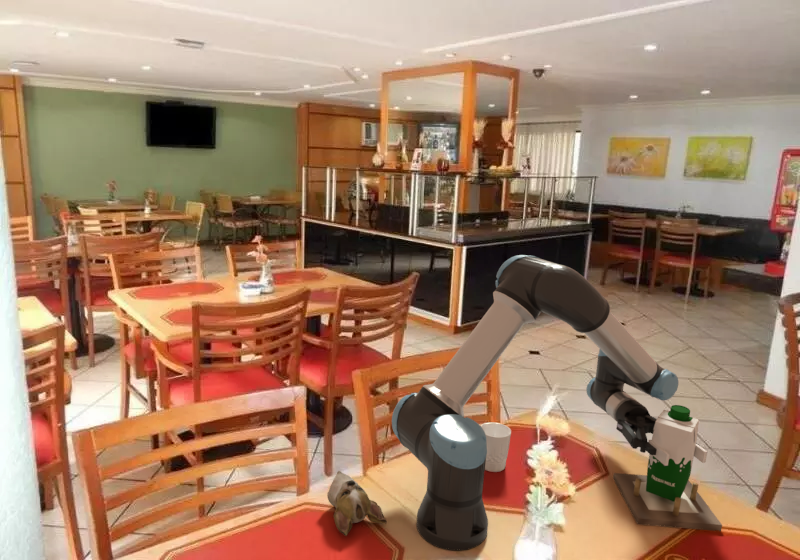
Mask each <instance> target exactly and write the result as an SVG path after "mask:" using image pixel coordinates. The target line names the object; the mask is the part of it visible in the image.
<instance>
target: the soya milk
mask: <svg viewBox="0 0 800 560" xmlns="http://www.w3.org/2000/svg"><path fill="white" fill-rule="evenodd" d="M690 415H691V410H690V408H689V407H687V406H684V405H680V404H673V405H671V407H670V410H667V409H663V410H662V412H661V413H660V414H659V415H658V416H657V418H656V419H657V420H656V421H655V425H654V428H653V430H654V432H653V434H652V437H651V440H653V441H654V442H655V443H656V444H657V445H658V446H659V447H661V448H662V449H664V450H665V451H666V452H667V453H669V454H670V456H669V462H668V466H665V465H663V464H662V463H661V462H660V461H659V460H658V459H656V458H655V457H654V456H653V455H651V454H649V453H648V455H649V457H648V463H647V469H646V470H647V472H646V475H647V483H646V491H647V492H649V493H652V494H655V495H657V496H660V497H663V498H665V499H668V500H671V501H673V502H675V498H676V497H679V498H681V496H682V494H683V492H684V490H685V487H686V485H687V482H688V480H689V481H690V478H691V477H690V476H691V474H692V473H691V472H692V468H693V461H694V458H695V457H694V452H695V446H696V443H697V438H698V431H699V421H700V420H699V419H698V418H695V417H692V416H690Z"/></svg>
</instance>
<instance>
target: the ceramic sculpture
mask: <svg viewBox="0 0 800 560" xmlns="http://www.w3.org/2000/svg"><path fill="white" fill-rule="evenodd" d="M327 500H328V503H330V504H331V506H333V507H334V508H335V511H334V513H333V521H334V523H335V526H336V529H337V531H338V532H339V533H341V534H342V535H343V536H345V537H347V536H348V534H349V533H350V532H351V530H352V528H353V524H355V523H360V522H362V521H364V520H365V518H366V516H367V517H368V520H369V521H370V522H372V523H375V524H376V523H377V524H387V520H386V518H385V515H384V513H383V510H382V508H381V507H380V505H378V503H377V502H376V501H375V500H371V499H370V498H369V496H368V494H367V493H366V491H365V489H364V488H363V487H361V485H360V484H359V483H358V482H357V481H355V479H353V478H352V477H351V476H350V475H349V474H345V473H344V472H342V471H341V470H338V471H337V472H336V474H335V476H334V478H333V480H332V481H331V484H330V486H329V490H328V492H327Z"/></svg>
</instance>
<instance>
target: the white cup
mask: <svg viewBox="0 0 800 560" xmlns="http://www.w3.org/2000/svg"><path fill="white" fill-rule="evenodd" d="M480 426H481V427H482V428H483V430H484V432H485V434H486V441H487V455H486V462H485V471H488V472H493V473H497V472H501V471H503V470H505V468H506V465H507V458H508V455H509V450H510V443H511V435H512V429H511V428H510V427H509V426H508V425H505V424H503V423H499V422H491V421H490V422H484V423H482V424H480Z"/></svg>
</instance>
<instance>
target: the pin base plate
mask: <svg viewBox="0 0 800 560" xmlns="http://www.w3.org/2000/svg"><path fill="white" fill-rule="evenodd" d="M612 480H613V481H614V483H615V485H616V487H617V489H618V490H619V492H620V495H621V496H622V499H623V501H624V502H625V504H626V506H627V507H628V510H629V511H630V513H631V516H632V517H633V519H634V520H635V523H636V525H641V526H653V527H665V528H678V529H692V530H703V531H704V530H705V531H715V530H719V531H718V532H722V528H723V524H722V523H721V521H720V520H719V518H718V517H717V516H716V515H715V513H714V512H713V511H712V509H711V508H710V507H709V505H708V504H707V503H706V501H705V499H704V498H703V497H702V496H701V495H700V494H699V491H698V489H699V484H698V483H697V482H691V481H690V479H689V480H688V482H687V485H686V487H685V490H684V492H683V494H682V496H681V498H679V497H676V498H675V502H673V501H671V500H668V499H665V498H663V497H660V496H657V495H655V494H652V493H649V492H647V491H646V483H647V474H645V475H644V474H635V473H634V474H631V473H618V472H613V476H612Z"/></svg>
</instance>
